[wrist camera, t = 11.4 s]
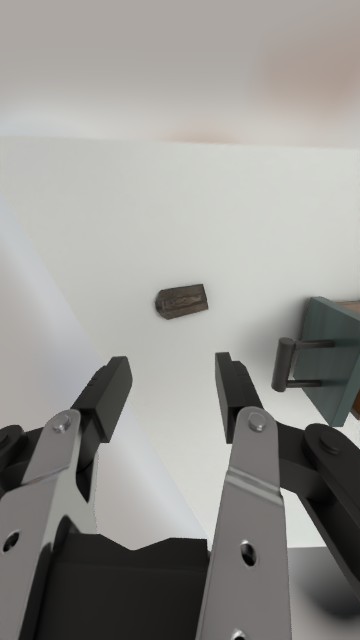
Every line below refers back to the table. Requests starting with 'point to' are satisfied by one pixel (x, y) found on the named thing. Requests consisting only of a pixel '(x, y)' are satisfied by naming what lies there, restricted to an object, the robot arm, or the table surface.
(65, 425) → the robot arm
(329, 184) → the table surface
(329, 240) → the table surface
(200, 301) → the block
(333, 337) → the drawer
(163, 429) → the table surface
